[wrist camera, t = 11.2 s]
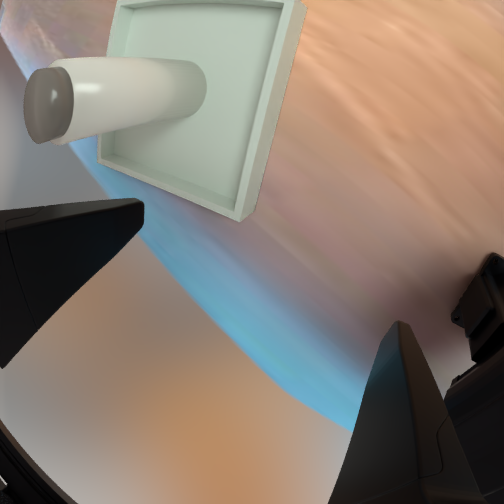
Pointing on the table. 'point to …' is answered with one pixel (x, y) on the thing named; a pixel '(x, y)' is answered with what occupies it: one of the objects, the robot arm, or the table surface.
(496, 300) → the robot arm
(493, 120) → the table surface
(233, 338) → the table surface
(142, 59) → the jar with lid
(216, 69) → the bin
